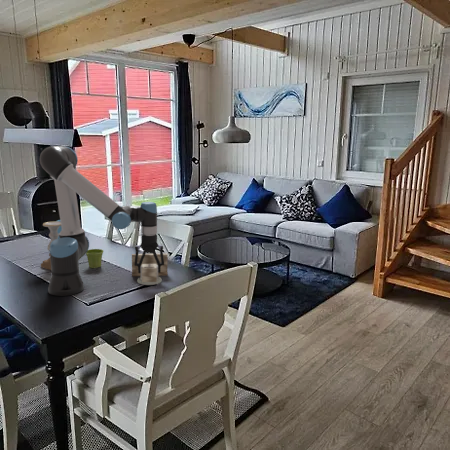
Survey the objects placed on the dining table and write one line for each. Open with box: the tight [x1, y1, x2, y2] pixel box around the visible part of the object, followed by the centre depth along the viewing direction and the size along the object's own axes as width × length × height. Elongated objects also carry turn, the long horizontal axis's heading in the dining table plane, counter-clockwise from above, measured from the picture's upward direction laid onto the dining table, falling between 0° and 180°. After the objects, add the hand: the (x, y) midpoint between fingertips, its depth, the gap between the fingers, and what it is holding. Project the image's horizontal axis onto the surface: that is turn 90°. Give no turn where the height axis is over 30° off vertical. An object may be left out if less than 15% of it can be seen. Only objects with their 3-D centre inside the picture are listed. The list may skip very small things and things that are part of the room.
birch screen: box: [131, 253, 169, 277], centre depth 205 cm, size 18×4×11 cm, turn 99°
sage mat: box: [136, 276, 163, 286], centre depth 198 cm, size 12×12×1 cm
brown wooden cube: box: [142, 264, 157, 282], centre depth 197 cm, size 7×7×7 cm
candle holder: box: [40, 220, 61, 271], centre depth 212 cm, size 11×11×24 cm
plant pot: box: [85, 248, 104, 269], centre depth 215 cm, size 9×9×9 cm
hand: (149, 278), depth 197 cm, fingers closed on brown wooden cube, 7 cm apart
